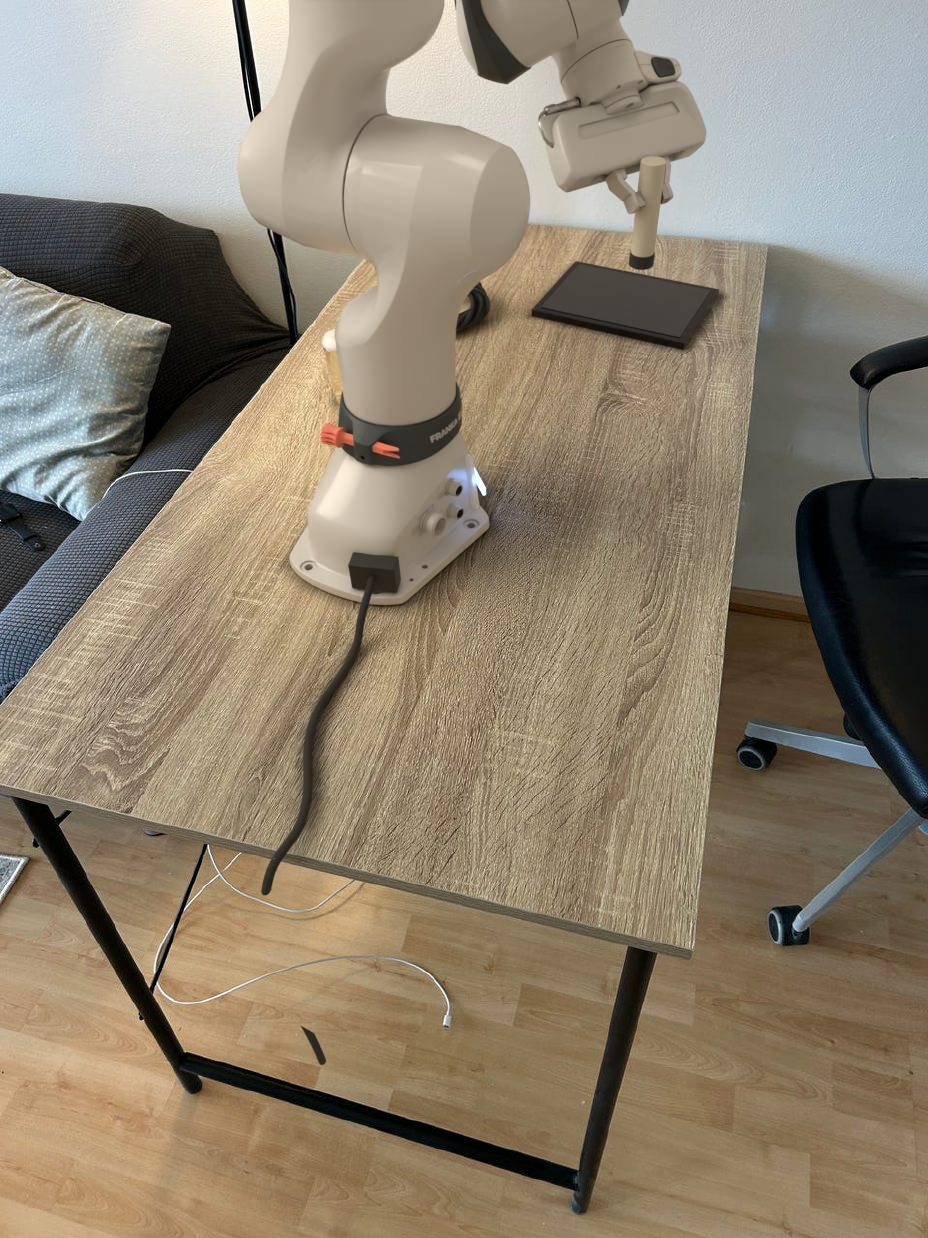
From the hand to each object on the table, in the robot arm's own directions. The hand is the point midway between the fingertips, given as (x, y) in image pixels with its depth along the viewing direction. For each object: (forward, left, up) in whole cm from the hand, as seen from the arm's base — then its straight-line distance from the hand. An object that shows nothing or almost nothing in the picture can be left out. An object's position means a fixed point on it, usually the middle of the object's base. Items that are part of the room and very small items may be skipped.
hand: (651, 206), depth 104 cm
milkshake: (-25, +28, -19) cm, 42 cm away
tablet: (+11, +5, -19) cm, 23 cm away
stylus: (0, +1, -7) cm, 7 cm away
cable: (-3, +29, -19) cm, 35 cm away
